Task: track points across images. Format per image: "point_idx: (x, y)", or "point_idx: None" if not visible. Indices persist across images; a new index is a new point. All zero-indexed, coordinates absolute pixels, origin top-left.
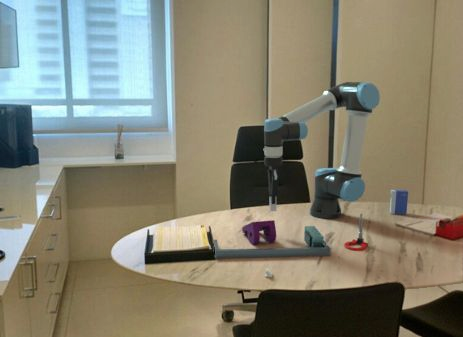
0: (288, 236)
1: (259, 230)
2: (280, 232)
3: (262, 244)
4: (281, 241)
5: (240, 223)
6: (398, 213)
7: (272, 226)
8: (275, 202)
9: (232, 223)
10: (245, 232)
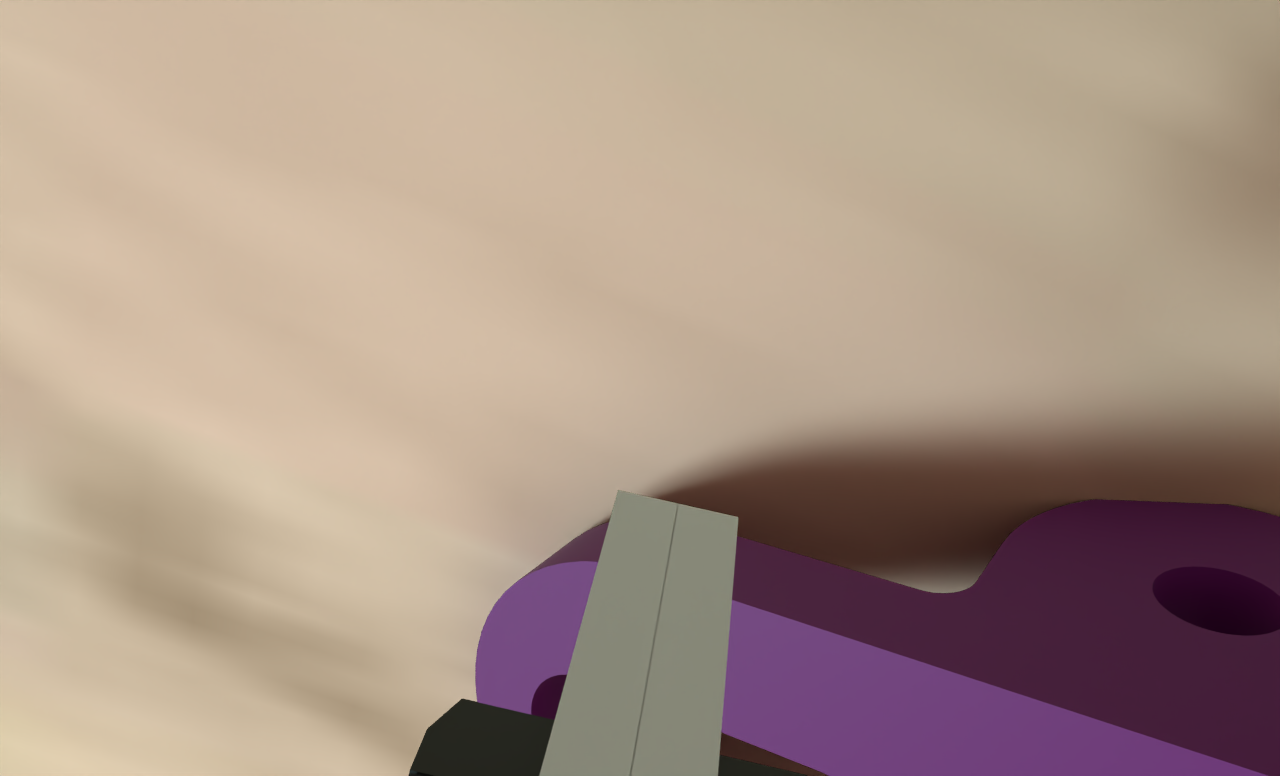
0: (1008, 59)
1: None
2: (689, 123)
3: None
4: (1246, 341)
5: (27, 625)
6: None
7: None
8: (711, 763)
9: (24, 734)
10: None
